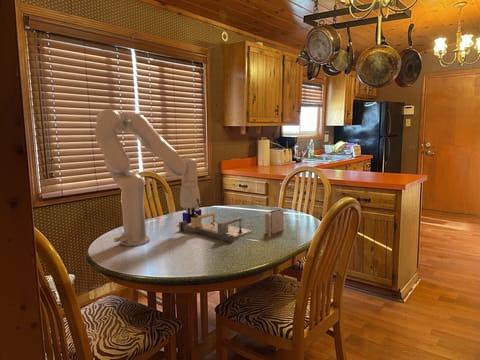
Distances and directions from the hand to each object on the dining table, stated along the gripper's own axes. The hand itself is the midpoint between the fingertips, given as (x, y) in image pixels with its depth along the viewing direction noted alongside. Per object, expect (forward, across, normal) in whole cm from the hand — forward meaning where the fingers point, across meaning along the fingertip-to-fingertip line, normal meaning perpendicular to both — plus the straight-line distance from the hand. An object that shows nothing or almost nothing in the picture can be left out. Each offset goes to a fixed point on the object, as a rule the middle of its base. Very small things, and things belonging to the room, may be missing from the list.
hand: (191, 221), depth 176 cm
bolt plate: (+6, +9, +12) cm, 16 cm away
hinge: (+6, +32, +24) cm, 41 cm away
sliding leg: (+4, +4, +5) cm, 8 cm away
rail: (+6, +10, 0) cm, 12 cm away
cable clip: (+6, -16, +15) cm, 23 cm away
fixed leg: (+4, +21, +5) cm, 22 cm away
